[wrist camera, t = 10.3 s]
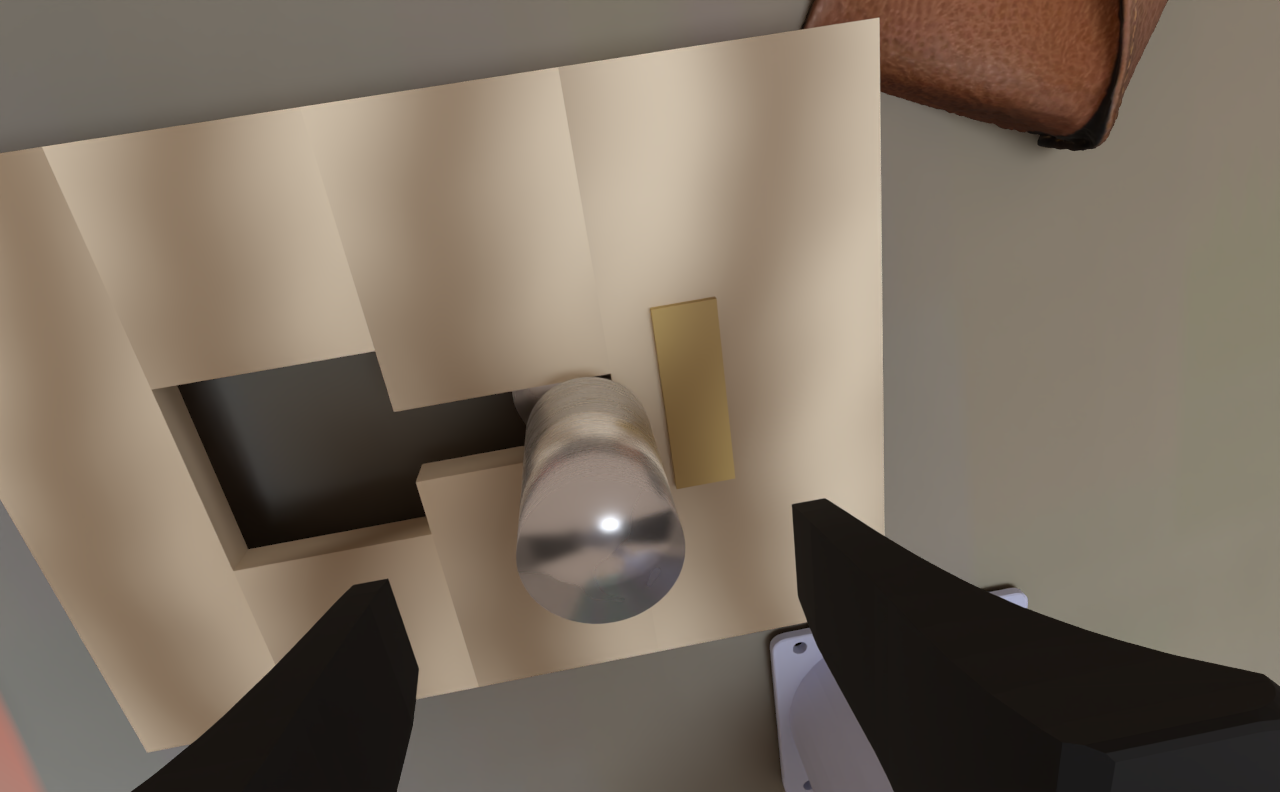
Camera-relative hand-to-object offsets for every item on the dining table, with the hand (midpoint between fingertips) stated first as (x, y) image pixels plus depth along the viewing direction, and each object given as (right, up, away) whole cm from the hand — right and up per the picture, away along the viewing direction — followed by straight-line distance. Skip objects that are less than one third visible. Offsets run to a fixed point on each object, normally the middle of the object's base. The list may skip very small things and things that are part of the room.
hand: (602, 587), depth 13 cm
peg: (-1, +4, +8) cm, 9 cm away
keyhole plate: (-4, +3, +8) cm, 10 cm away
